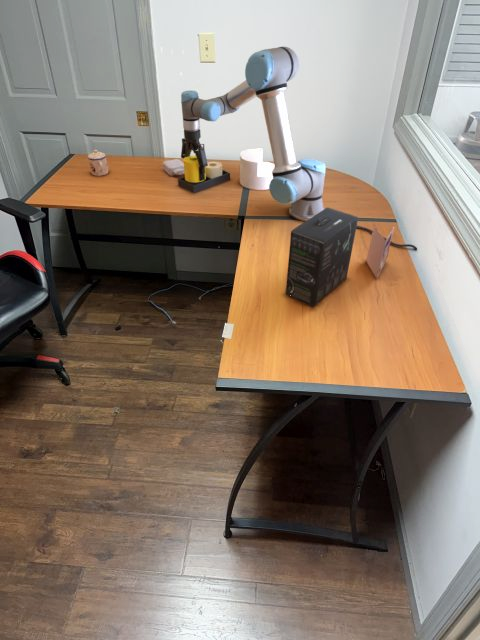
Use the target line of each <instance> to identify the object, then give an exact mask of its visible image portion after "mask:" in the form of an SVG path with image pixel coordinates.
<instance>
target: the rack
mask: <svg viewBox="0 0 480 640" xmlns="http://www.w3.org/2000/svg"><path fill="white" fill-rule="evenodd" d="M228 181H231V172H229V171H227V170H223V169H222V176H219V177H216V178H213V179H211V178H209V177H207V176H206V179H205V180H204V181H201V182H195V183H194V182H188V181H186V180H185V175H184V176H182V177H179V178H177V184H178V185H177V186H178V187H180V188H182V189H184V190H186V191H188V192H190V193H192V194H195V193H199V192H202V191H204V190H206V189H209V188H212V187H214V186H215V187H216V186H218V185H220V184H223V183H226V182H228Z"/></svg>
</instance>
